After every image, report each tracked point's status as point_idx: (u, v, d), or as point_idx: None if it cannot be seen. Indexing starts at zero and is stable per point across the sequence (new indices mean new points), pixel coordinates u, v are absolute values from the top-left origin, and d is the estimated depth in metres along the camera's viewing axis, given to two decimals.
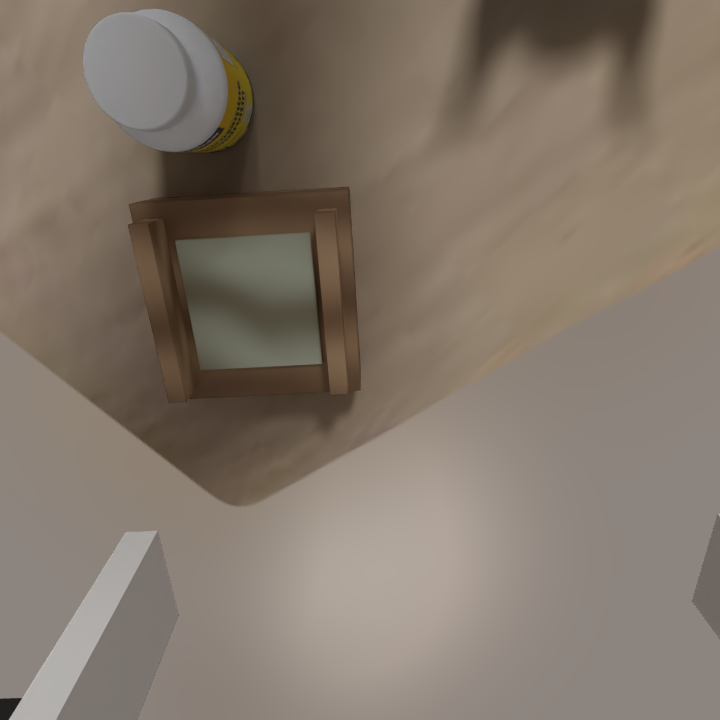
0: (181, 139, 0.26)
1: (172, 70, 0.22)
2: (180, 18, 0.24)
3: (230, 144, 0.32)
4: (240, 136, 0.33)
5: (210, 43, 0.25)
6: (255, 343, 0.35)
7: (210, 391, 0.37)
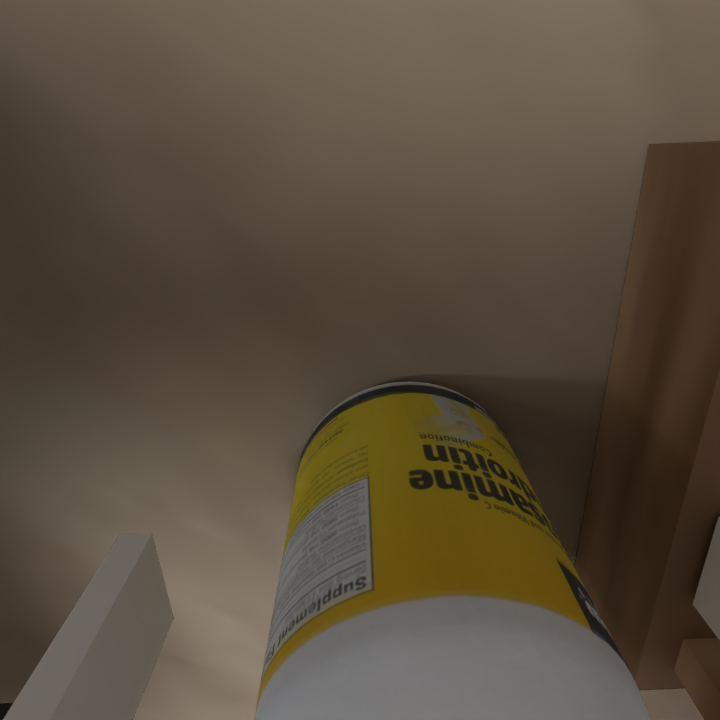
0: None
1: None
2: None
3: (514, 454, 0.13)
4: (496, 427, 0.13)
5: (342, 651, 0.07)
6: None
7: None
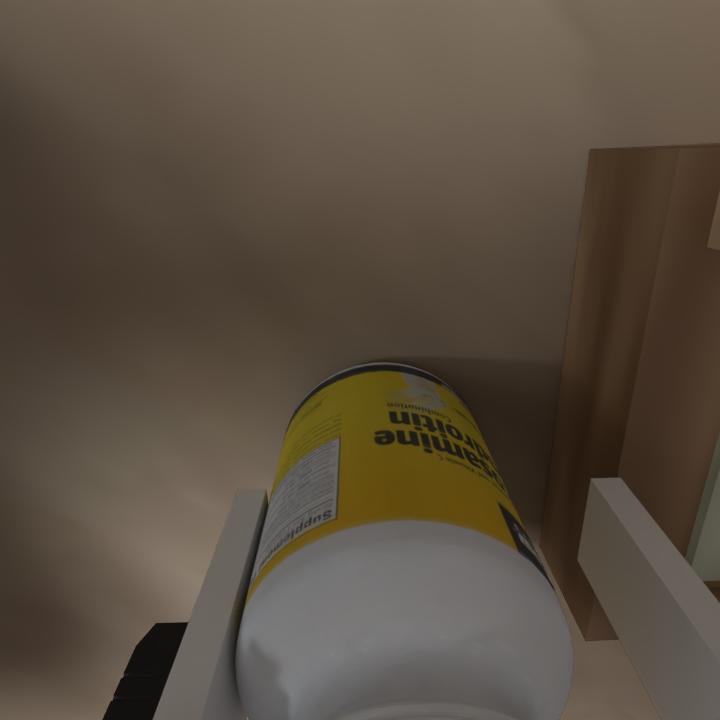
0: (561, 674, 0.09)
1: None
2: (252, 634, 0.09)
3: (476, 426, 0.15)
4: (460, 402, 0.15)
5: (308, 564, 0.08)
6: None
7: None
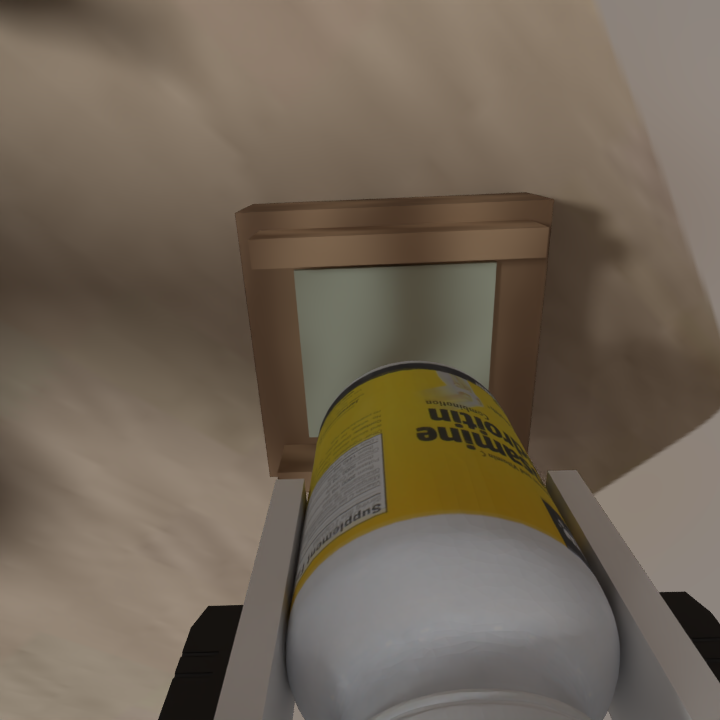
0: (610, 668, 0.09)
1: None
2: (305, 624, 0.09)
3: None
4: (494, 400, 0.15)
5: (362, 555, 0.09)
6: (452, 356, 0.24)
7: (520, 422, 0.26)
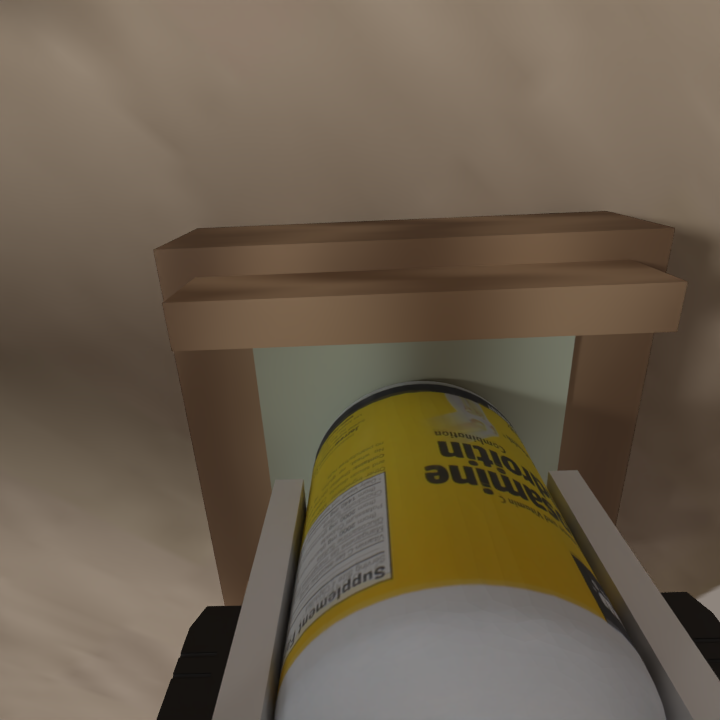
0: None
1: None
2: (295, 716, 0.07)
3: None
4: (509, 426, 0.14)
5: (362, 636, 0.07)
6: None
7: None
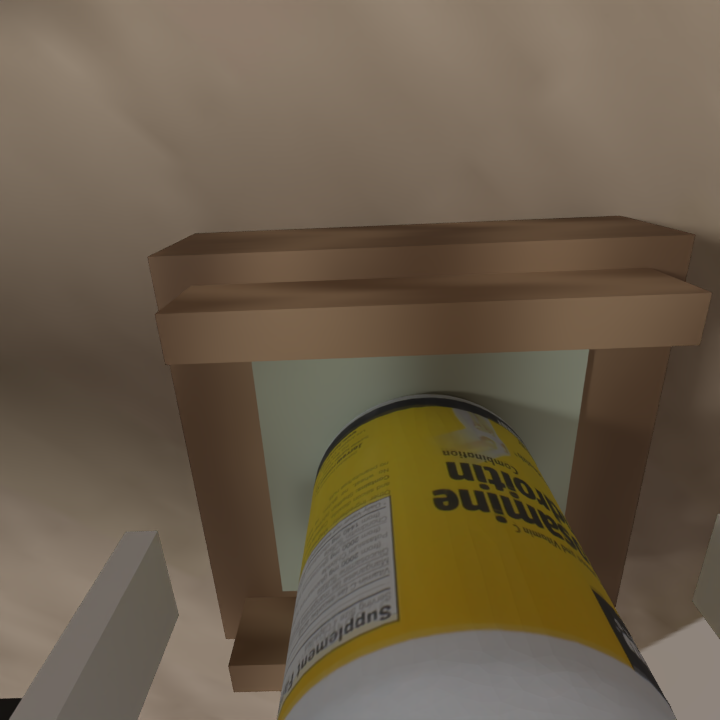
0: None
1: None
2: None
3: None
4: (520, 442, 0.13)
5: (366, 688, 0.07)
6: None
7: (608, 568, 0.17)
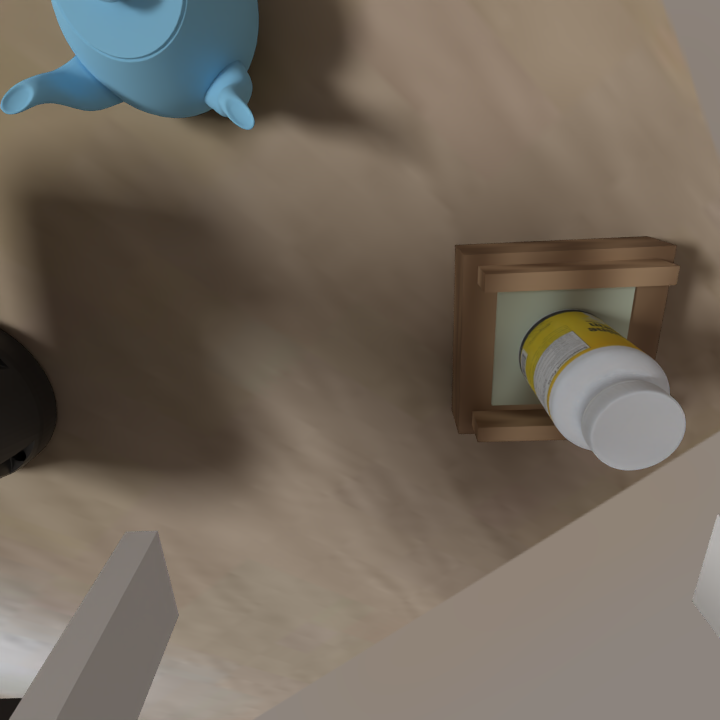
0: None
1: (643, 402, 0.24)
2: (567, 380, 0.27)
3: None
4: None
5: (586, 357, 0.27)
6: None
7: None
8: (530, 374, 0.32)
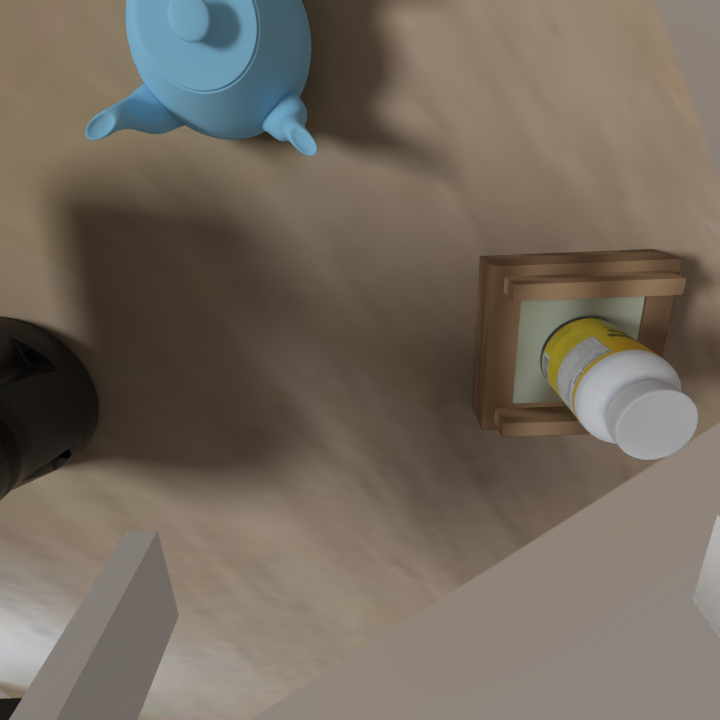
0: None
1: (662, 399, 0.28)
2: (592, 380, 0.31)
3: None
4: None
5: (609, 360, 0.31)
6: None
7: None
8: (553, 375, 0.36)
